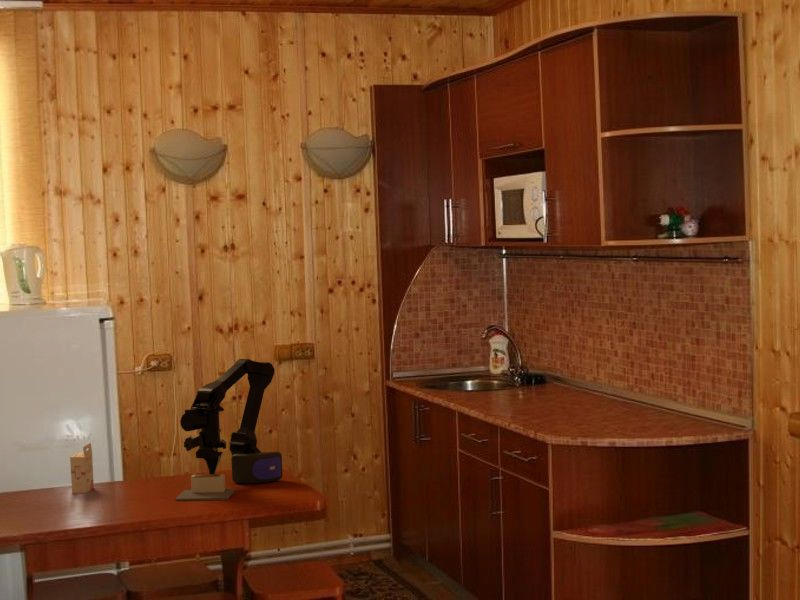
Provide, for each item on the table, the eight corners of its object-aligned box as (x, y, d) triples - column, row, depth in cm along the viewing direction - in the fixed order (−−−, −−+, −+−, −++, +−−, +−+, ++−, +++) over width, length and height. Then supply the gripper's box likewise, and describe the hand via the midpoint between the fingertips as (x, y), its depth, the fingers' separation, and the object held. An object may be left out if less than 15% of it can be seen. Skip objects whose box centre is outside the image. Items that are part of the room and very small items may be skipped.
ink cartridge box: (78, 488, 383) (76, 442, 382) (94, 487, 383) (92, 442, 382) (71, 493, 375) (69, 447, 374) (86, 493, 374) (84, 447, 374)
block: (193, 490, 371) (192, 474, 370) (225, 489, 370) (224, 474, 370) (191, 492, 368) (190, 476, 367) (223, 492, 367) (222, 476, 367)
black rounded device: (232, 485, 380) (231, 456, 379) (232, 482, 384) (231, 453, 383) (283, 482, 382) (282, 453, 381) (282, 479, 387) (281, 450, 386)
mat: (184, 491, 372) (184, 489, 372) (235, 490, 372) (235, 488, 372) (175, 500, 359) (175, 498, 359) (227, 499, 359) (227, 497, 359)
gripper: (191, 422, 385) (193, 470, 386) (178, 432, 366) (180, 482, 367) (225, 422, 385) (227, 469, 385) (214, 431, 366) (216, 481, 367)
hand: (212, 475), depth 376 cm, fingers closed
